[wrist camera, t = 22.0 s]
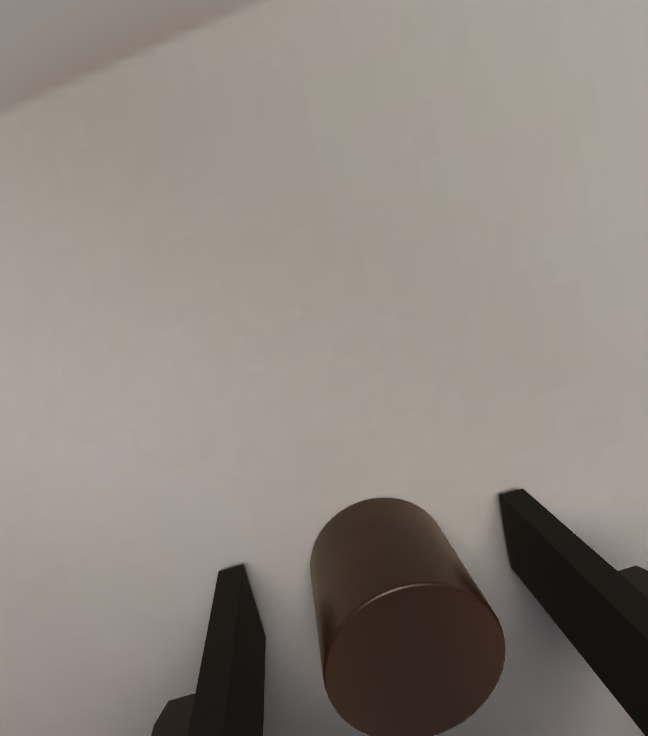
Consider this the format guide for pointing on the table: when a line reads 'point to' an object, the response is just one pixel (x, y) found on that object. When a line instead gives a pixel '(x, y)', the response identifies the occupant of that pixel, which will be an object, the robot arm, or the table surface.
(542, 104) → the table surface
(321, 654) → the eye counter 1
